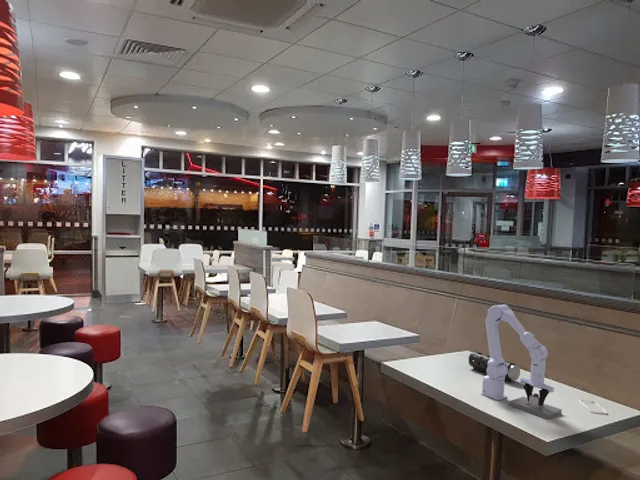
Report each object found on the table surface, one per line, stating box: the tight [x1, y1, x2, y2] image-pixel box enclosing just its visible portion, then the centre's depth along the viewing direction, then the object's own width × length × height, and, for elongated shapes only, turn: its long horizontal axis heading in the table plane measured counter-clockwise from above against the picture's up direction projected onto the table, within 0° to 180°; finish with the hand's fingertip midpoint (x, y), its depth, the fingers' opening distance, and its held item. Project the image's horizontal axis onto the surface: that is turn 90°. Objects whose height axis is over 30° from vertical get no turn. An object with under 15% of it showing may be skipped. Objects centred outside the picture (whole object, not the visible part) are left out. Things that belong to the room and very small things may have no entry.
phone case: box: [578, 399, 608, 415], centre depth 222 cm, size 7×1×15 cm
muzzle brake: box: [468, 350, 521, 382], centre depth 263 cm, size 10×28×10 cm, turn 30°
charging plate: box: [508, 396, 563, 420], centre depth 215 cm, size 18×12×2 cm, turn 38°
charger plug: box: [529, 392, 542, 409], centre depth 215 cm, size 4×4×7 cm
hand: (535, 403), depth 215 cm, fingers open, 5 cm apart
